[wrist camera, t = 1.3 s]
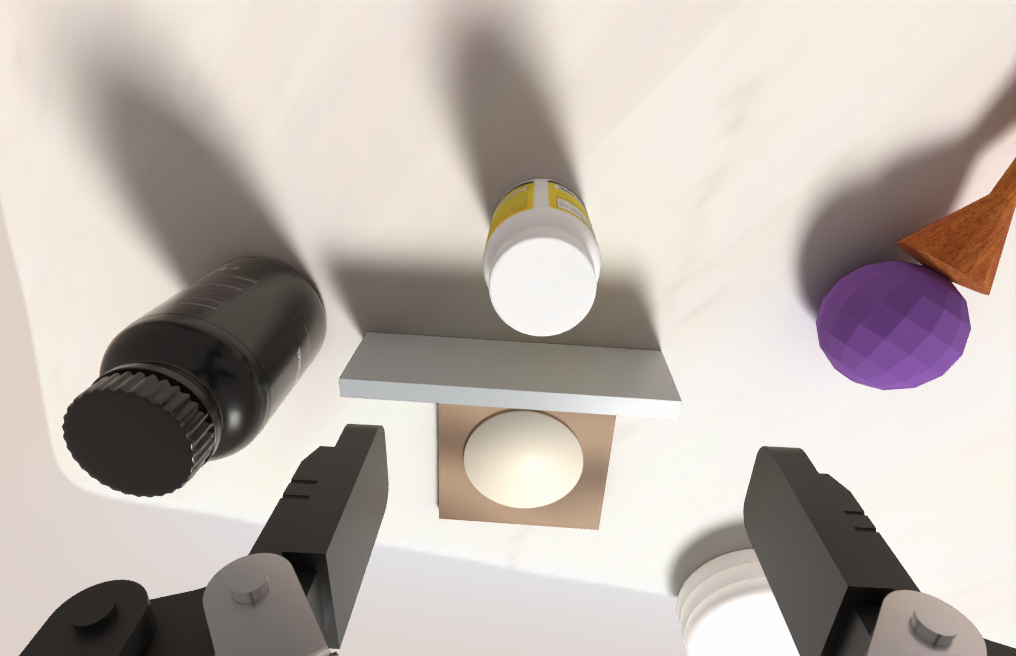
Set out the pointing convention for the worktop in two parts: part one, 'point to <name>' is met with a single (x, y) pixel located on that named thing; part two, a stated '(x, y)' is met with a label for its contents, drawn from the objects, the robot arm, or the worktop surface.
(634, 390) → the low wall
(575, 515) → the walnut board
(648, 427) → the worktop surface
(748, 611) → the coaster
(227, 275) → the supplement bottle
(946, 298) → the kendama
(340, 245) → the worktop surface
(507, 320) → the supplement bottle
